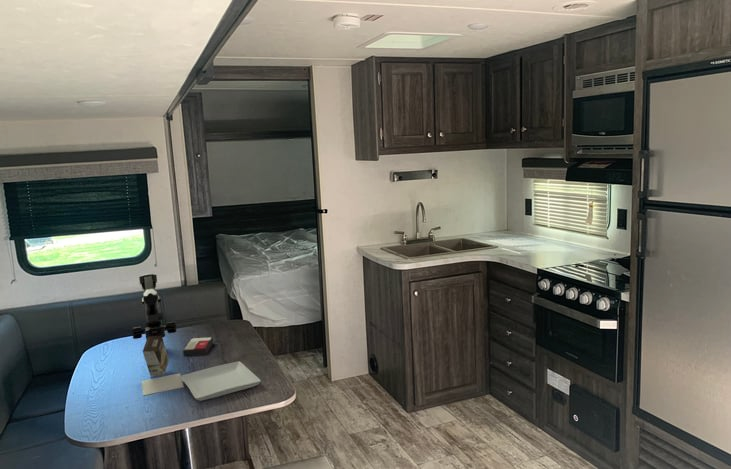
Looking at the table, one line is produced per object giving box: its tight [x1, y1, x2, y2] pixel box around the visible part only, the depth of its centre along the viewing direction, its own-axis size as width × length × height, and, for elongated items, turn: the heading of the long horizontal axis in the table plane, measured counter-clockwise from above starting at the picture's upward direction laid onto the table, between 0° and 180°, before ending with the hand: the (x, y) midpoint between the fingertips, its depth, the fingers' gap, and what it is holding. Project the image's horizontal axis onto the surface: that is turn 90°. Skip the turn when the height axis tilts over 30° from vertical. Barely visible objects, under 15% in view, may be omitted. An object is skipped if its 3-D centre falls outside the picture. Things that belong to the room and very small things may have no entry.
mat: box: [141, 372, 185, 397], centre depth 234 cm, size 16×16×1 cm
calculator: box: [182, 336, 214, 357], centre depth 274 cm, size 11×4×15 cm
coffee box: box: [142, 336, 169, 377], centre depth 242 cm, size 9×6×16 cm
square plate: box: [179, 361, 262, 402], centre depth 230 cm, size 27×27×4 cm
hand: (156, 346), depth 245 cm, fingers closed
